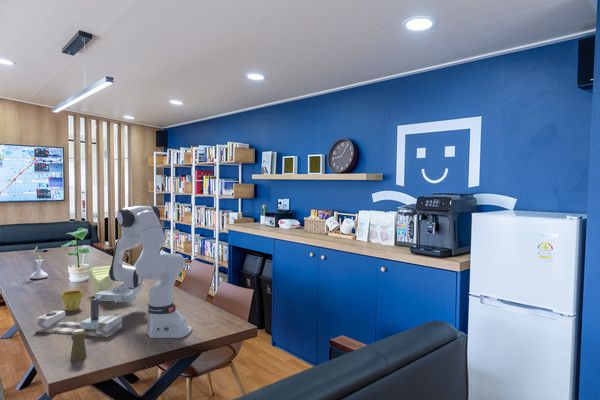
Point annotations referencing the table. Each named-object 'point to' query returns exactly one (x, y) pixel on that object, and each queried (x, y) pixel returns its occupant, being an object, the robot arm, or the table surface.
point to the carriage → (93, 316)
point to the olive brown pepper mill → (78, 346)
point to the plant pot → (72, 299)
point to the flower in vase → (38, 268)
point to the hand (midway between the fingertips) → (105, 300)
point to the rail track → (77, 325)
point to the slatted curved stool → (100, 278)
